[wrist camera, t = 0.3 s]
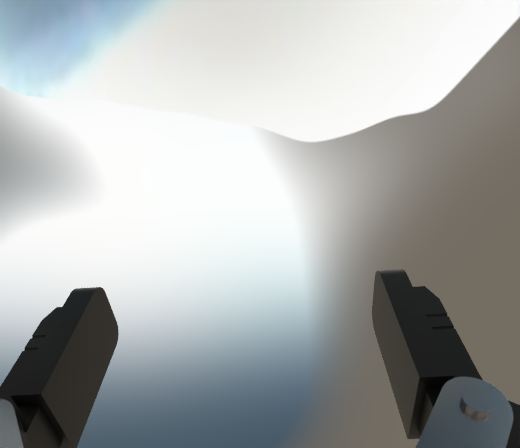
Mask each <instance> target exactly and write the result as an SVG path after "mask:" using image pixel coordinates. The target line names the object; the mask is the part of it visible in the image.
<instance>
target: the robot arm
mask: <svg viewBox="0 0 520 448" xmlns="http://www.w3.org/2000/svg"><path fill="white" fill-rule="evenodd" d="M372 318H373V325H374V330H375V334H376V337H377V340H378V344H379V347H380V350H381V354H382V357H383V360H384V363H385V366H386V370H387V373H388V376H389V379H390V383H391V386H392V389H393V393H394V396H395V399H396V403H397V406H398V409H399V412H400V415H401V419H402V422H403V425H404V429H405V432H406V435H407V438H408V439H415V438H416V439H417V438H420V439H419V441H418V444H417V446H416V448H520V405H518V404H515V403H513V402H510V401H508V400H507V399H506V397H505V396H504V395H503V394H502V393H501V392H500V391H499V390H498V389H496V388H495V387H494V386H492V385H491V384H489V383H487V382H485V381H483V380H482V378H481V376H480V375H479V373H478V371H477V369H476V367H475V365H474V364H473V362H472V360H471V358H470V356H469V354H468V352H467V350H466V348H465V346H464V345H463V343H462V341H461V339H460V337H459V335H458V333H457V332H456V329H454V326H453V324H452V322H451V321H450V318H449V317H447V313H446V311H445V309H444V307H443V305H442V303H441V301H440V299H439V298H438V297H436V296H435V295H434V294H433V293H432V292H431V291H430V290H428V289H427V288H426V287H425V286H422V287H412V285H411V282H410V280H409V278H408V276H407V274H406V272H405V271H404V270H403V269H401V270H385V271H377V272H376V275H375V283H374V295H373V306H372ZM32 336H33V338H32V339H30V340H29V342H28V343H27V345H26V347H25V351H23V352H22V353H21V355H20V356H19V358H18V359H17V361H16V363H15V364H14V366H13V367H12V369H11V371H10V372H9V374H8V376H7V377H6V379H5V380H4V382H3V383H2V385H1V386H0V448H77V445H78V443H79V440H80V437H81V435H82V432H83V429H84V427H85V425H86V422H87V419H88V417H89V414H90V412H91V409H92V407H93V404H94V401H95V399H96V396H97V394H98V391H99V389H100V386H101V383H102V381H103V378H104V376H105V373H106V371H107V368H108V365H109V363H110V360H111V358H112V355H113V352H114V350H115V347H116V345H117V341H118V325H117V322H116V319H115V317H114V314H113V311H112V309H111V306H110V304H109V301H108V298H107V296H106V293H105V291H104V290H103V288H101V287H98V288H97V287H96V288H80V289H74V290H73V291H72V292H71V293H70V295H69V297H68V299H67V300H66V302H65V304H64V305H63V307H57V308H56V309H54V310H53V311H52V312H51V313H50V314H49V315H48V316H47V317H45V318H44V319H43V320H42V321H41V323H40V324H39V326H38V327H37V329H36V331H35V332H34V334H33V335H32Z"/></svg>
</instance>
